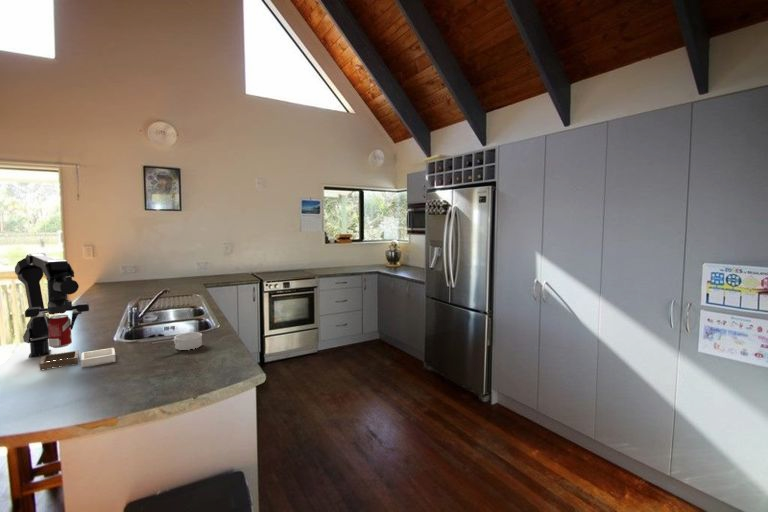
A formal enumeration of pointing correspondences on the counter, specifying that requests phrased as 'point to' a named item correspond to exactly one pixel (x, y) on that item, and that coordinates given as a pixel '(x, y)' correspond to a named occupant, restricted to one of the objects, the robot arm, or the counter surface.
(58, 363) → the walnut holder
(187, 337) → the saucepan
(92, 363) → the rimmed tray
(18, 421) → the counter surface
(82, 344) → the counter surface
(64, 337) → the soda can
